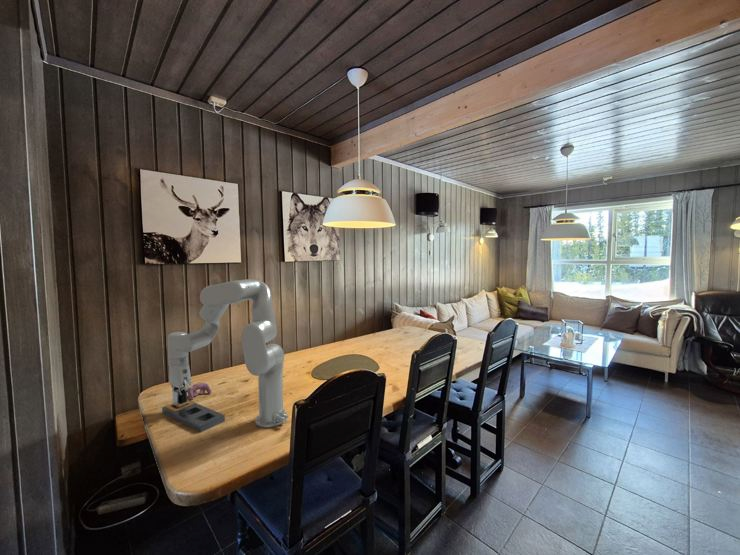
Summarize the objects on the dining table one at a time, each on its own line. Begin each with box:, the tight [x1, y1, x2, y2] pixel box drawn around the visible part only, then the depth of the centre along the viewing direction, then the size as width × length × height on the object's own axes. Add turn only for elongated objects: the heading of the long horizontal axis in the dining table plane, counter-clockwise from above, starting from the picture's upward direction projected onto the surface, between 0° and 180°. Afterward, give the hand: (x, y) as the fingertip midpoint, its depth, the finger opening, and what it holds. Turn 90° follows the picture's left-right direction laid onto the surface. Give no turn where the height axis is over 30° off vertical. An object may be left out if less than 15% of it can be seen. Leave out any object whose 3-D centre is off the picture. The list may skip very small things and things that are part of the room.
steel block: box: [171, 388, 187, 409], centre depth 136 cm, size 4×4×8 cm
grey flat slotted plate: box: [161, 399, 226, 433], centre depth 131 cm, size 30×10×3 cm, turn 58°
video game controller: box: [187, 382, 212, 401], centre depth 152 cm, size 10×5×7 cm, turn 141°
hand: (180, 401), depth 136 cm, fingers closed on steel block, 3 cm apart
